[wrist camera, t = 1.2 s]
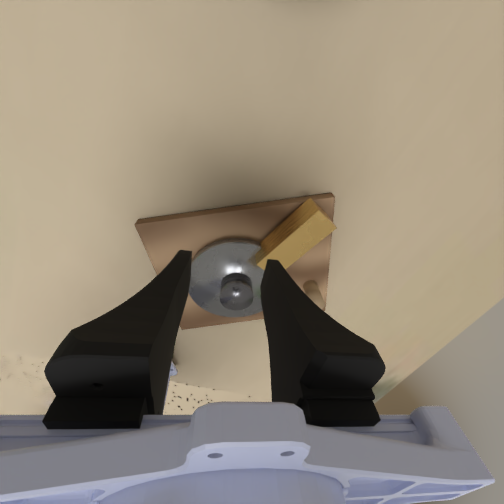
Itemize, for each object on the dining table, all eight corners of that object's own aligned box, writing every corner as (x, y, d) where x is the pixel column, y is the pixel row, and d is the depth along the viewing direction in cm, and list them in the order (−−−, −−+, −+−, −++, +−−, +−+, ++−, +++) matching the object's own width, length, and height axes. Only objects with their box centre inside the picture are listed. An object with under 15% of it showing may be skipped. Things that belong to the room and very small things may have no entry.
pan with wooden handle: (240, 322, 30) (240, 343, 27) (168, 282, 25) (161, 304, 23) (349, 237, 24) (363, 255, 21) (280, 167, 19) (287, 179, 17)
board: (322, 304, 31) (333, 330, 28) (183, 323, 31) (177, 351, 28) (331, 192, 22) (348, 211, 19) (138, 219, 23) (122, 242, 19)
